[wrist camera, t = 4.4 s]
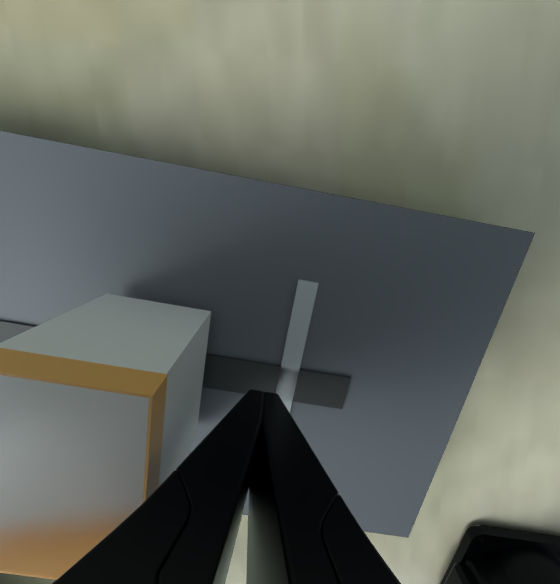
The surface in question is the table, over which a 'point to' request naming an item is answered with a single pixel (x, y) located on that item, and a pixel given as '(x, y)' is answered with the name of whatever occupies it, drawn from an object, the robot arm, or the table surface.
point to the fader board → (274, 299)
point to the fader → (92, 424)
